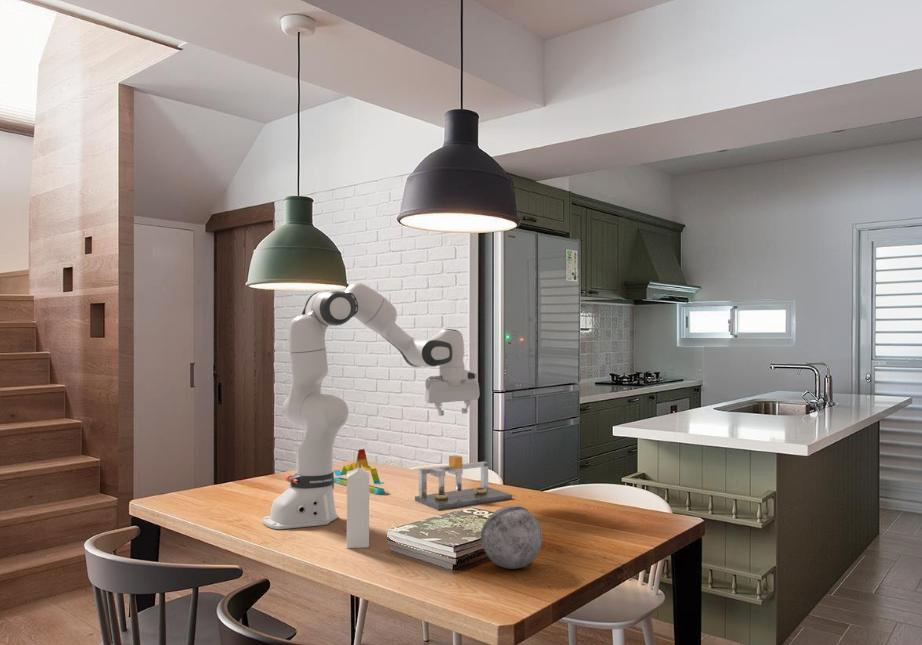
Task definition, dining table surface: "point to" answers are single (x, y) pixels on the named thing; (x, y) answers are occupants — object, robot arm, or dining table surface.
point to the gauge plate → (457, 497)
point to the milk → (357, 508)
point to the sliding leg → (456, 470)
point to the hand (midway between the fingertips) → (452, 414)
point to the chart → (360, 462)
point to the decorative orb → (511, 537)
